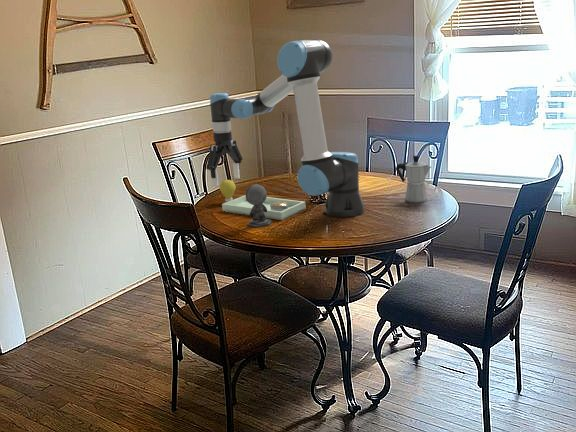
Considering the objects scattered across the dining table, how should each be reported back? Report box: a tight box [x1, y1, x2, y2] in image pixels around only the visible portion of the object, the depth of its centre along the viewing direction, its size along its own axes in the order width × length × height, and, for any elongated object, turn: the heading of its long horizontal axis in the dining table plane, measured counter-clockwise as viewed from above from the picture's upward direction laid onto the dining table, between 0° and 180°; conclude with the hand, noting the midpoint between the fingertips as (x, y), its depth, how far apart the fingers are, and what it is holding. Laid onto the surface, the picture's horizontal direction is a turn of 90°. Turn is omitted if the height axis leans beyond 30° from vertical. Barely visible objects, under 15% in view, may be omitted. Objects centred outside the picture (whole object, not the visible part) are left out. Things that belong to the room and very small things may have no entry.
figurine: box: [245, 183, 273, 229], centre depth 215 cm, size 9×10×15 cm
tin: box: [270, 202, 288, 211], centre depth 229 cm, size 7×7×3 cm
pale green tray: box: [221, 194, 307, 221], centre depth 234 cm, size 30×16×3 cm, turn 54°
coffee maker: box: [395, 155, 432, 204], centre depth 232 cm, size 15×9×18 cm, turn 57°
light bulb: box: [219, 179, 237, 203], centre depth 247 cm, size 7×7×10 cm
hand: (226, 181), depth 246 cm, fingers open, 13 cm apart
